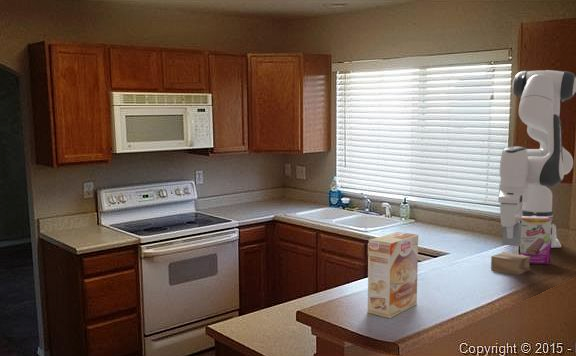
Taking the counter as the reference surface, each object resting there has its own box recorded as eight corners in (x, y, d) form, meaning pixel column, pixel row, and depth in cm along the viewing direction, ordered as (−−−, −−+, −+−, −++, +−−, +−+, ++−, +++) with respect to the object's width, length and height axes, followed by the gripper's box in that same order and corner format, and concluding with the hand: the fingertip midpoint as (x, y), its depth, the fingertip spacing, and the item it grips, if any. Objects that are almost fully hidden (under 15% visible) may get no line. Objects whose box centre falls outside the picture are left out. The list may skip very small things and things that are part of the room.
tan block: (503, 266, 196) (504, 252, 196) (529, 270, 190) (529, 256, 189) (491, 270, 190) (491, 256, 190) (517, 275, 183) (517, 260, 183)
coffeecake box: (390, 319, 142) (391, 243, 141) (366, 313, 147) (366, 239, 145) (418, 304, 154) (419, 234, 152) (395, 299, 158) (396, 231, 157)
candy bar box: (518, 264, 198) (519, 217, 197) (514, 260, 203) (515, 215, 202) (551, 264, 197) (553, 218, 195) (546, 261, 202) (548, 216, 200)
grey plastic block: (504, 242, 192) (505, 221, 192) (520, 243, 190) (521, 222, 189) (502, 244, 188) (502, 223, 187) (518, 246, 185) (518, 225, 185)
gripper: (508, 191, 198) (507, 230, 199) (497, 198, 180) (496, 240, 181) (527, 192, 195) (526, 232, 196) (518, 199, 177) (517, 242, 178)
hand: (511, 236), depth 188 cm, fingers closed on grey plastic block, 5 cm apart
